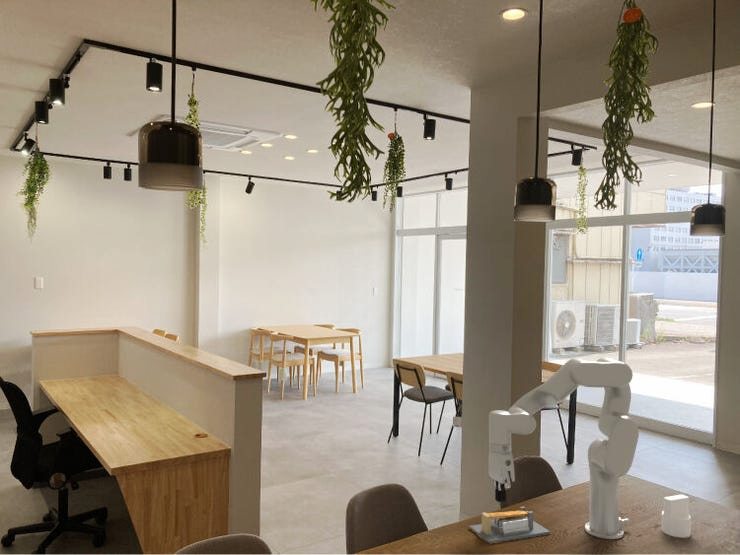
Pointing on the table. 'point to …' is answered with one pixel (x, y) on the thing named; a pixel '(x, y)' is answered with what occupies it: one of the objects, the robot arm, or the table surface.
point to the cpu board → (495, 536)
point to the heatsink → (510, 525)
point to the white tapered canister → (676, 516)
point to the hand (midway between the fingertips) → (500, 500)
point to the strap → (508, 514)
